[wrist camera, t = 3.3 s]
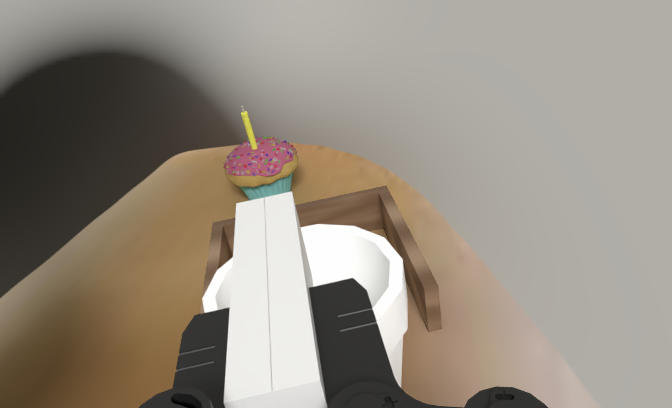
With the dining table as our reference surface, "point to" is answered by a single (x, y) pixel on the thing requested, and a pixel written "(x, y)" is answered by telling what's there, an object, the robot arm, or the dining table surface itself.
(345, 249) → the foam cup
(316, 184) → the dining table surface
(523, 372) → the dining table surface
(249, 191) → the cupcake
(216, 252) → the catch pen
